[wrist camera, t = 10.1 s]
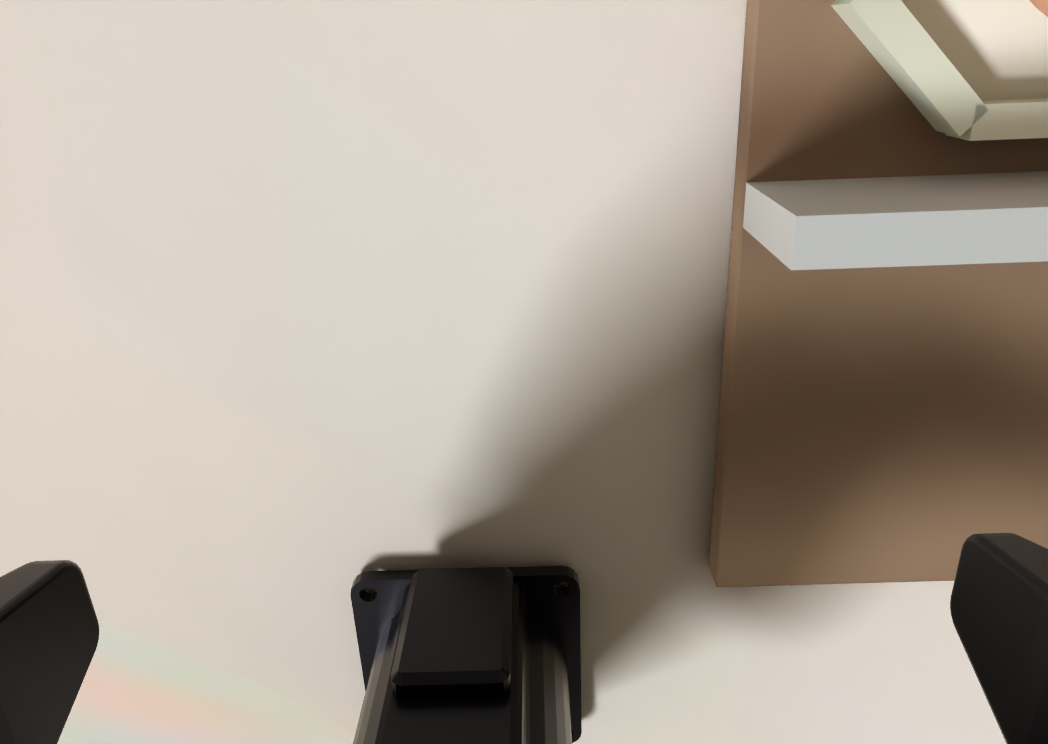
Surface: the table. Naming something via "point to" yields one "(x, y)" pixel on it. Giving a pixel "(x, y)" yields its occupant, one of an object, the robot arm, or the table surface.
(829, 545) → the fence board
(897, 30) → the ring
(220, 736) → the table surface
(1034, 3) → the rubber ball
